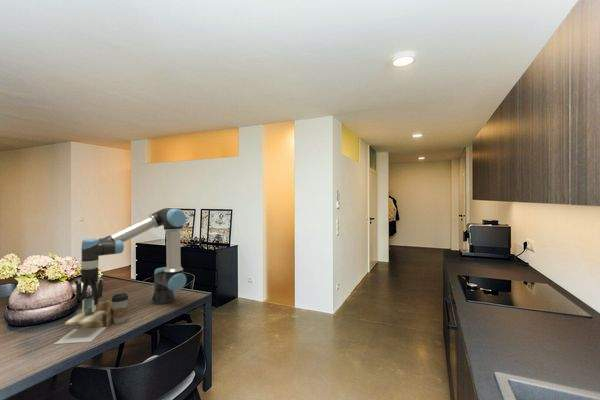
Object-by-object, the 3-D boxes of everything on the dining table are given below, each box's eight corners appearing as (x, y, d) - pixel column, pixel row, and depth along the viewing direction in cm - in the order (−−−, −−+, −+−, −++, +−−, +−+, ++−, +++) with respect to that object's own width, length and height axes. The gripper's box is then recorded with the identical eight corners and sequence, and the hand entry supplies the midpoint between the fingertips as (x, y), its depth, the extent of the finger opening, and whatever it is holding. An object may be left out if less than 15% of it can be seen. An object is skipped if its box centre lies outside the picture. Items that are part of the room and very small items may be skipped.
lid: (105, 312, 159) (105, 296, 159) (91, 323, 146) (91, 305, 146) (81, 313, 157) (81, 297, 157) (64, 324, 144) (65, 306, 144)
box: (119, 315, 174) (119, 301, 174) (106, 327, 158) (106, 311, 158) (92, 316, 171) (92, 302, 171) (76, 328, 155) (76, 313, 155)
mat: (106, 327, 157) (106, 327, 157) (90, 342, 141) (90, 341, 141) (74, 329, 154) (74, 329, 154) (54, 344, 138) (54, 343, 138)
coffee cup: (110, 325, 160) (110, 298, 159) (112, 320, 167) (112, 294, 167) (127, 323, 163) (127, 296, 163) (128, 317, 171) (128, 292, 171)
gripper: (110, 265, 160) (109, 307, 160) (76, 266, 157) (75, 309, 157) (103, 269, 152) (103, 313, 152) (67, 270, 149) (67, 314, 149)
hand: (89, 311), depth 154 cm, fingers closed on lid, 4 cm apart
